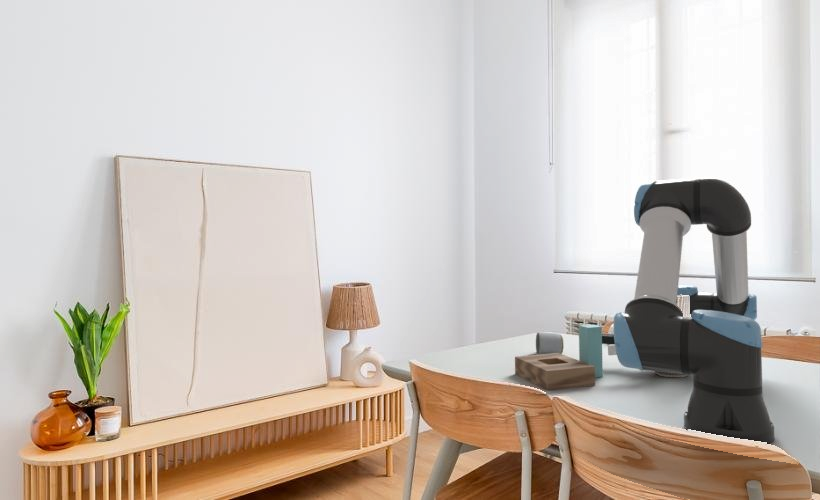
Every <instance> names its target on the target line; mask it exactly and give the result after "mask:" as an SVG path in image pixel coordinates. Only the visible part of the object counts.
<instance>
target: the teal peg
mask: <svg viewBox="0 0 820 500" xmlns="http://www.w3.org/2000/svg"><path fill="white" fill-rule="evenodd" d="M602 334H603V328H602V326H600V325H596V324H582V325H581V324H579V325H578V353H579V355H578V356H579V359H578V360H579V361H581V362H584V363H587V364H590V365H592V366H595V378H603V377H604V376H603V373H604V371H603V344H602Z"/></svg>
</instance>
